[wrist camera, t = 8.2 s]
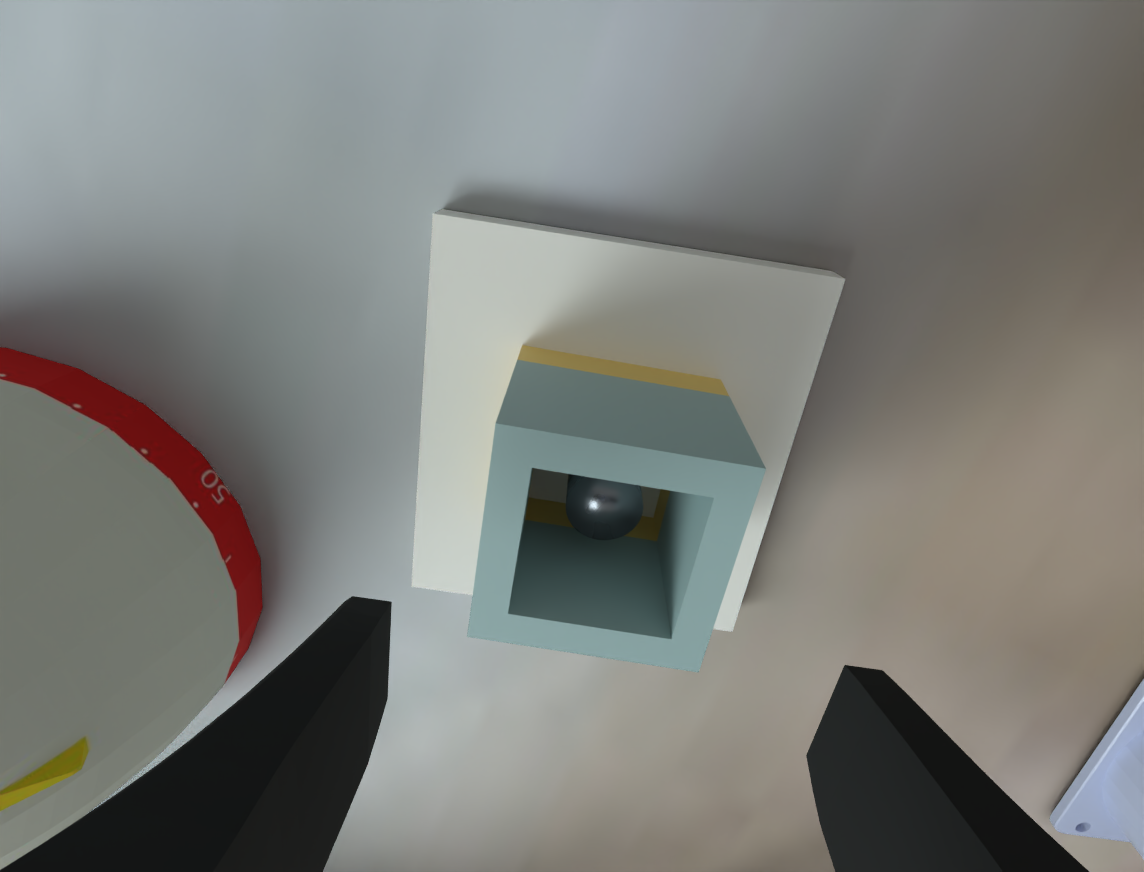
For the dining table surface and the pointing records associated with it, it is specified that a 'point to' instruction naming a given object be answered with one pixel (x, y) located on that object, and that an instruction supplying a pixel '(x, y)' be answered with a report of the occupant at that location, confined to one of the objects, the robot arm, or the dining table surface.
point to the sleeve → (647, 553)
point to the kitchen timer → (105, 593)
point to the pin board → (607, 331)
